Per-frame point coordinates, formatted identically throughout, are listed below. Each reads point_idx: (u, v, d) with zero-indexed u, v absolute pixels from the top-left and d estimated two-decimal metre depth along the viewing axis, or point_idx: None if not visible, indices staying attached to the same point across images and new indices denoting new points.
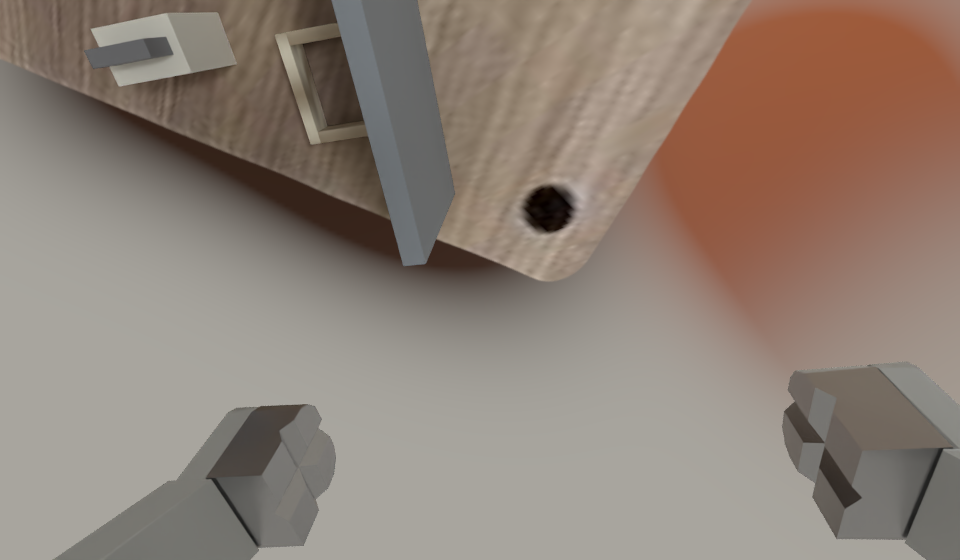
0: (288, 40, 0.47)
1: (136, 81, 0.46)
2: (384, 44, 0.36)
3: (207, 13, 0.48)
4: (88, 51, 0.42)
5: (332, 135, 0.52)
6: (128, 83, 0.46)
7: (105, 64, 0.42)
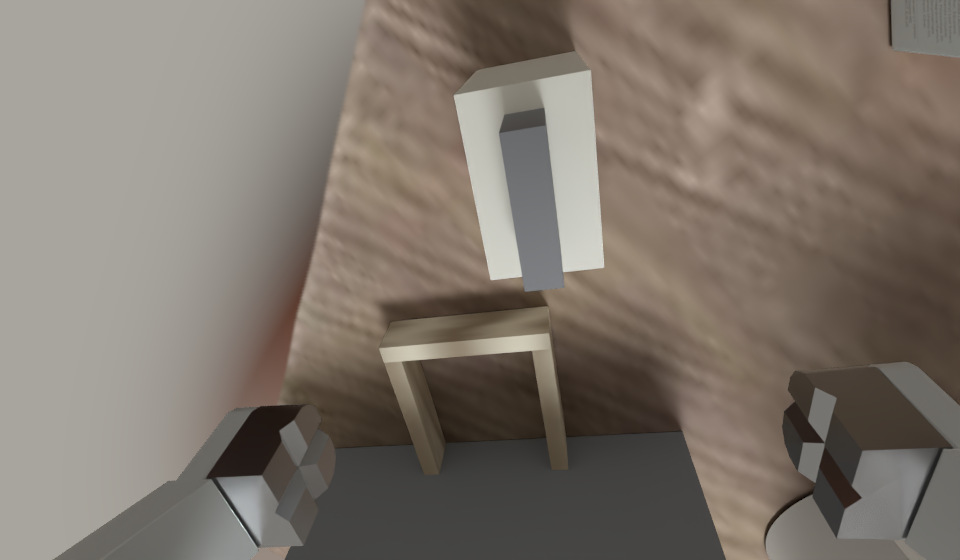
0: (540, 349, 0.29)
1: (468, 149, 0.19)
2: None
3: None
4: (543, 139, 0.15)
5: (399, 380, 0.32)
6: (463, 126, 0.18)
7: (509, 173, 0.16)
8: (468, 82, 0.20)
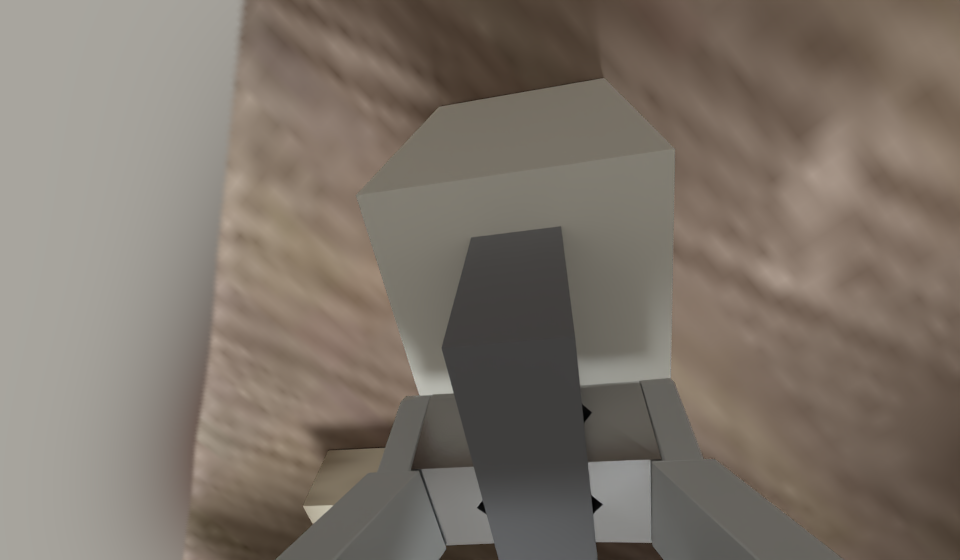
0: None
1: (396, 300, 0.09)
2: None
3: None
4: (567, 367, 0.05)
5: None
6: (382, 258, 0.08)
7: (472, 432, 0.06)
8: (408, 145, 0.11)
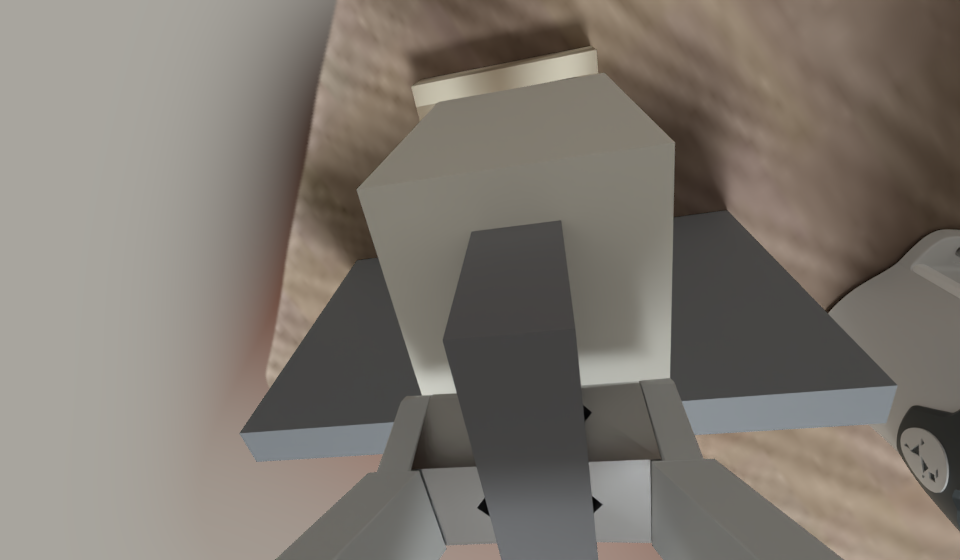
0: (585, 74, 0.27)
1: (397, 294, 0.09)
2: None
3: None
4: (567, 360, 0.05)
5: None
6: (383, 252, 0.08)
7: (473, 424, 0.06)
8: (408, 140, 0.11)
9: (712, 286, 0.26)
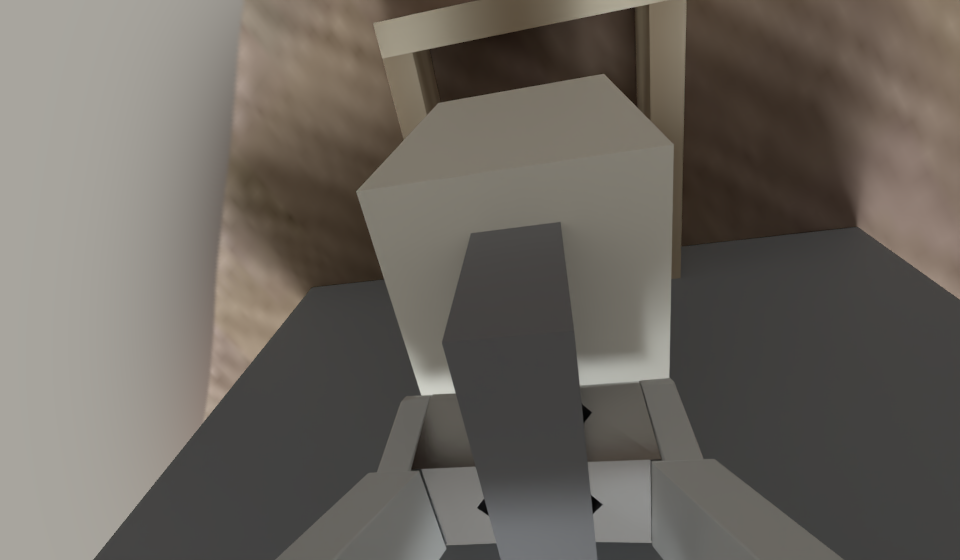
0: (664, 0, 0.16)
1: (397, 295, 0.09)
2: None
3: None
4: (566, 361, 0.05)
5: (408, 98, 0.19)
6: (382, 253, 0.08)
7: (472, 425, 0.06)
8: (408, 141, 0.11)
9: (890, 371, 0.15)
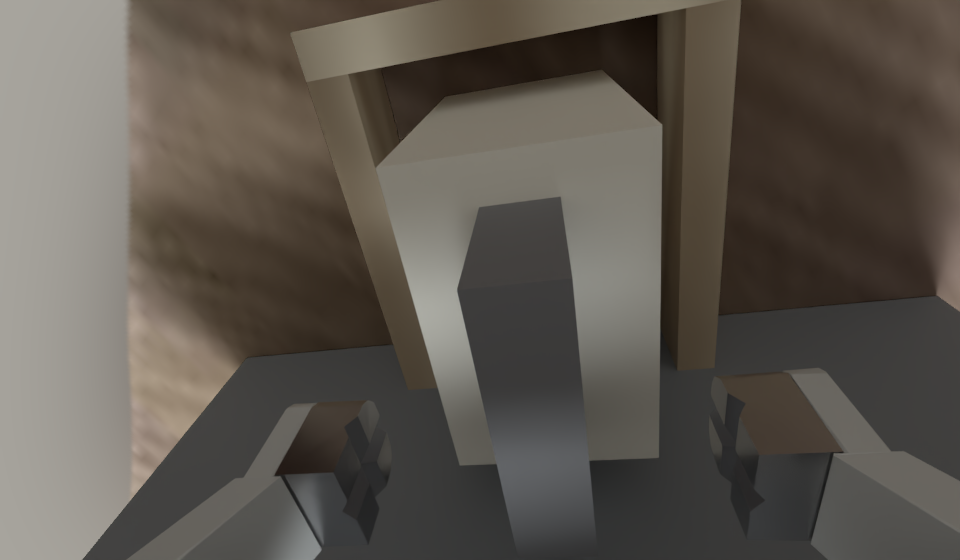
0: (708, 3, 0.11)
1: (410, 266, 0.10)
2: None
3: None
4: (565, 306, 0.06)
5: (345, 136, 0.13)
6: (397, 226, 0.09)
7: (482, 369, 0.07)
8: (419, 128, 0.11)
9: None
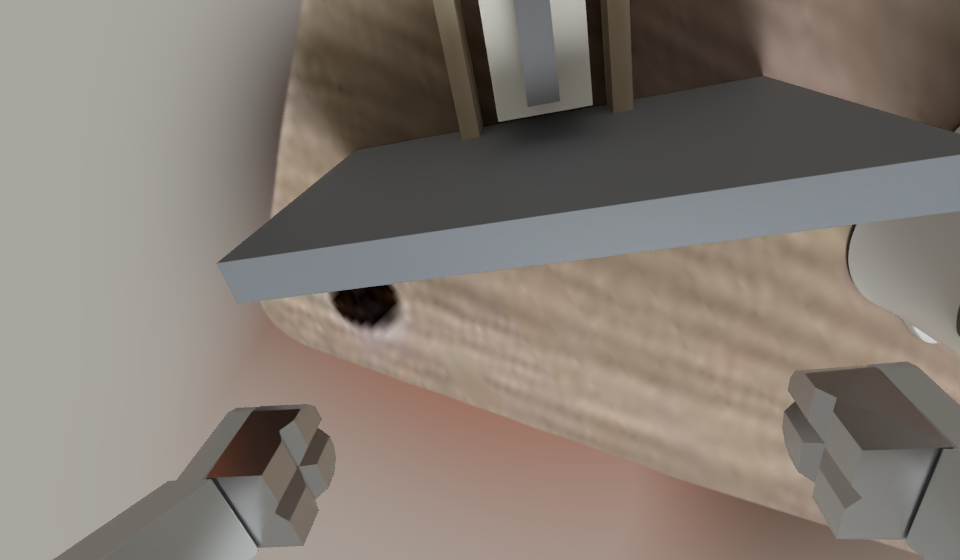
0: None
1: None
2: None
3: None
4: None
5: None
6: None
7: None
8: None
9: (758, 118, 0.23)
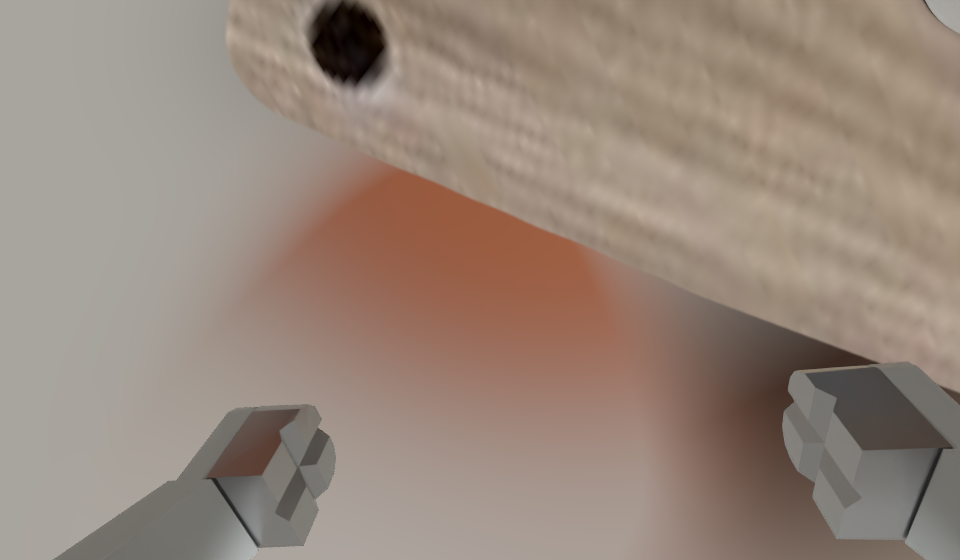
0: None
1: None
2: None
3: None
4: None
5: None
6: None
7: None
8: None
9: None
